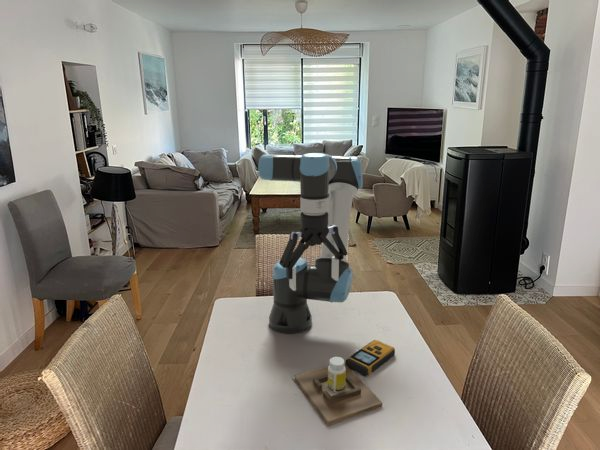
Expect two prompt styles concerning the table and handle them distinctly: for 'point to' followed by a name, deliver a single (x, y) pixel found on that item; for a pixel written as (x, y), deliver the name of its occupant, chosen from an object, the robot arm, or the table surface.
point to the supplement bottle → (336, 375)
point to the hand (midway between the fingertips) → (314, 283)
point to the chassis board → (337, 395)
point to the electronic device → (370, 357)
